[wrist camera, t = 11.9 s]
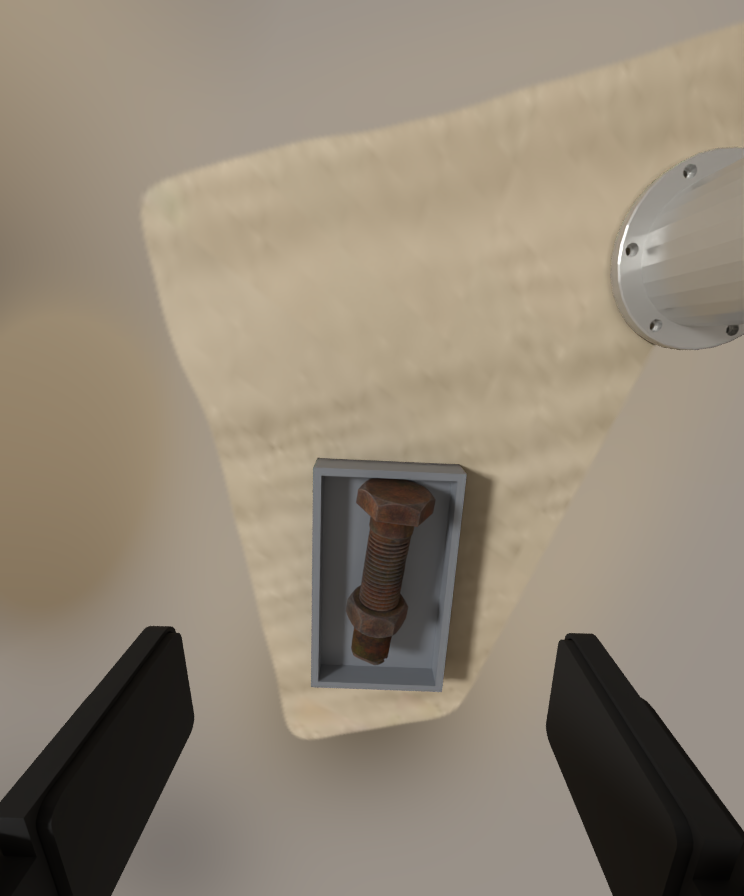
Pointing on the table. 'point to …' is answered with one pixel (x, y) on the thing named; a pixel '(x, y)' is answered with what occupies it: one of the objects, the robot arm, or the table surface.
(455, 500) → the parts tray
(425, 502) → the bolt
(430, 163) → the table surface
